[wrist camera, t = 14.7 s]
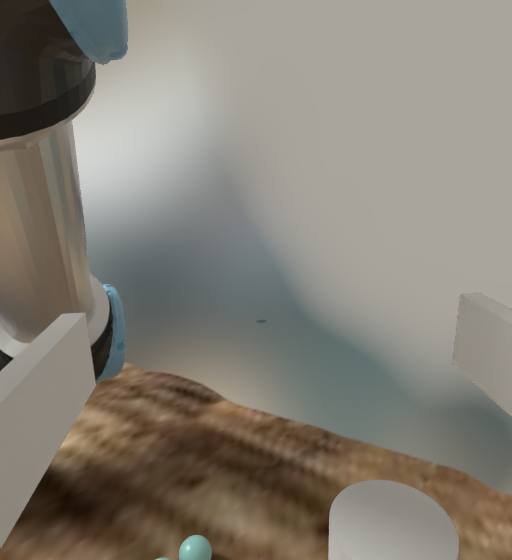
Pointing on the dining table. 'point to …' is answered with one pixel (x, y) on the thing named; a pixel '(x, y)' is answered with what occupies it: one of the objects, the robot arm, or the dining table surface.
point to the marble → (195, 549)
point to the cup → (389, 524)
